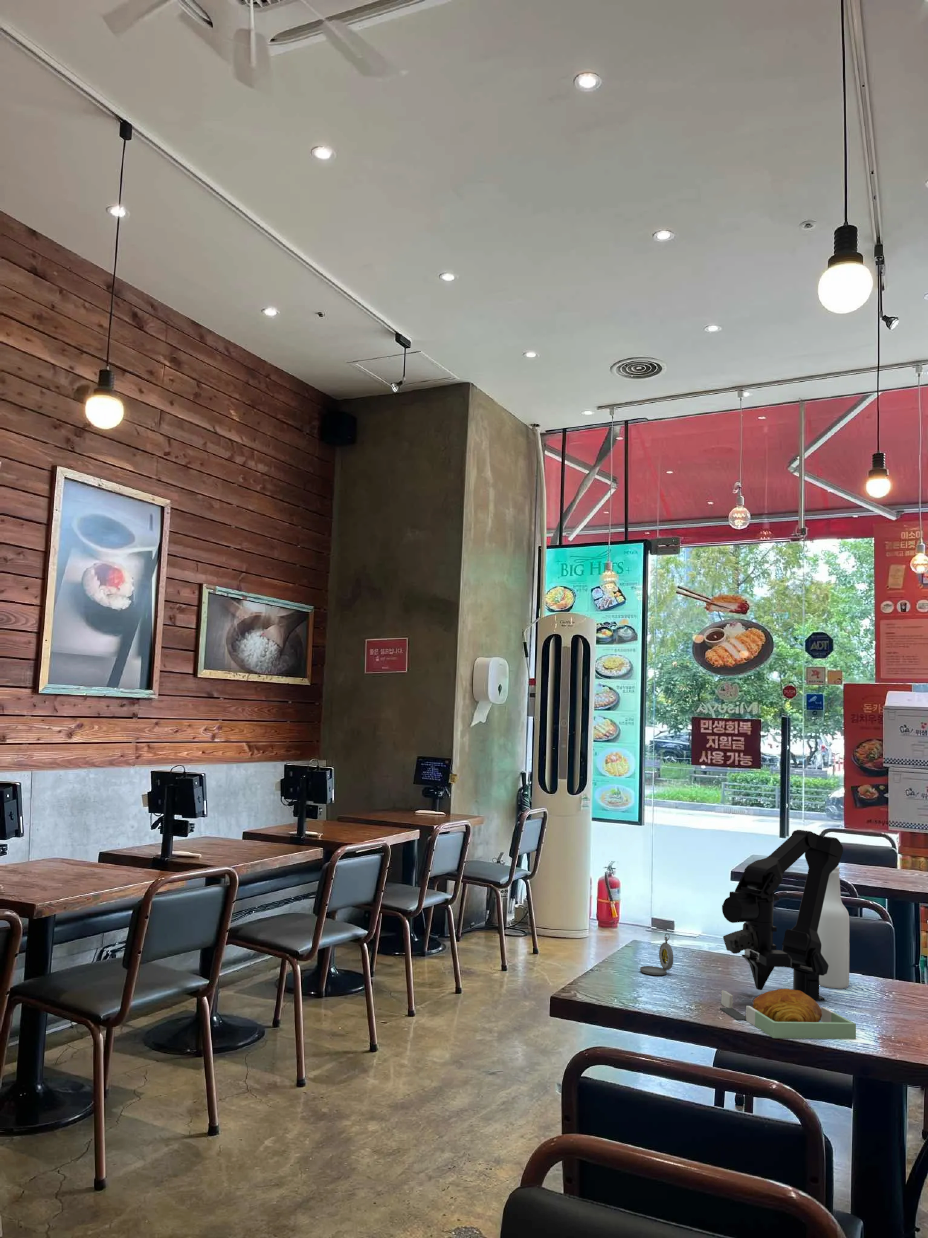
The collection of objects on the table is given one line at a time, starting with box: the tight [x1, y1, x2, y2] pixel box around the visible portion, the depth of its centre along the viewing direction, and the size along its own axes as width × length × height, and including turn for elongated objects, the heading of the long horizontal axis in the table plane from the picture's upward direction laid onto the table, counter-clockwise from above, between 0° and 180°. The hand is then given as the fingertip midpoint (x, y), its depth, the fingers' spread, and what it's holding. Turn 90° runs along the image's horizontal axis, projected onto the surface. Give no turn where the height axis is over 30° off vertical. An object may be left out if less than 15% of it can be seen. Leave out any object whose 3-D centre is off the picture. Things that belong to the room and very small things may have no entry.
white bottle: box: [817, 865, 850, 990], centre depth 237 cm, size 9×9×30 cm
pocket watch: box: [639, 932, 674, 976], centre depth 236 cm, size 8×8×10 cm
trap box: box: [719, 990, 857, 1040], centre depth 200 cm, size 24×23×3 cm
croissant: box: [752, 988, 822, 1022], centre depth 199 cm, size 14×16×8 cm
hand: (759, 989), depth 212 cm, fingers closed
